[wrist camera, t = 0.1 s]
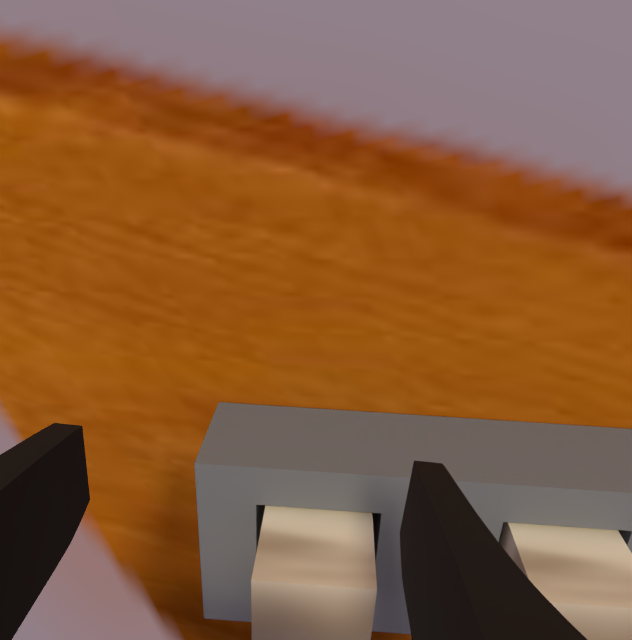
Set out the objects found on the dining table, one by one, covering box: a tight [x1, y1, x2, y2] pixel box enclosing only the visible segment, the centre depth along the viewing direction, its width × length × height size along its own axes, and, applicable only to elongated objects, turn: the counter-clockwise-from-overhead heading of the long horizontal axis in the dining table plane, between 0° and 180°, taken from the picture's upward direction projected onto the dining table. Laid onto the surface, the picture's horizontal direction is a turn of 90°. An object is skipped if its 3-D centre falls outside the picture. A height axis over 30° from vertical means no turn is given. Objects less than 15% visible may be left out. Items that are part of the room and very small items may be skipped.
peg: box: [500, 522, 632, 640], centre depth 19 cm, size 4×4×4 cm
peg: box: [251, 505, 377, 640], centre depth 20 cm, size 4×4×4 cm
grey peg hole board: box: [195, 402, 632, 634], centre depth 22 cm, size 8×18×4 cm, turn 88°
